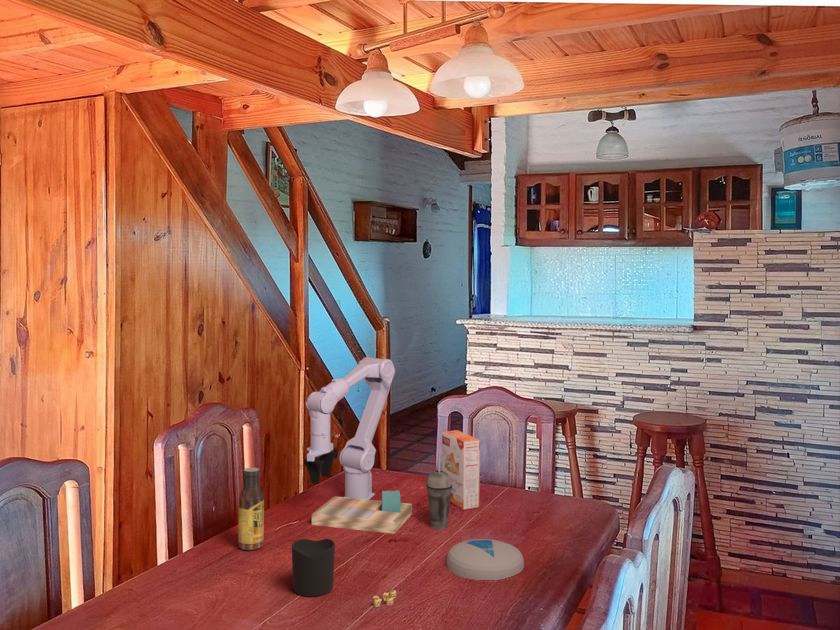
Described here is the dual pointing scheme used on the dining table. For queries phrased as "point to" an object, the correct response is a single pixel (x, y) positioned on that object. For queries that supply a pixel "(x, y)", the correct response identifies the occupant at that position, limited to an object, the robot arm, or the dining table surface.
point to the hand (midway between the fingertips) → (320, 479)
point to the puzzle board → (363, 521)
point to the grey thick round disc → (485, 559)
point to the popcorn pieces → (385, 598)
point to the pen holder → (313, 566)
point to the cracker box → (462, 467)
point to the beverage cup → (439, 497)
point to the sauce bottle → (251, 512)
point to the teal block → (391, 501)
